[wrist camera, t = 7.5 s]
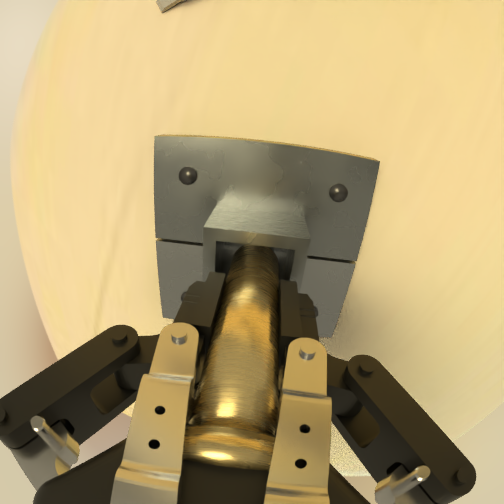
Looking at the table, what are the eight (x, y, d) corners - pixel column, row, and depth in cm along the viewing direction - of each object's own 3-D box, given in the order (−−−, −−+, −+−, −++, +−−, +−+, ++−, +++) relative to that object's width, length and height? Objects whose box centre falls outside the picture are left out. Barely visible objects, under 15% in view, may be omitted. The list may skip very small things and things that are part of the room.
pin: (290, 239, 14) (307, 463, 4) (281, 292, 16) (279, 495, 6) (226, 231, 14) (150, 443, 5) (223, 285, 16) (171, 481, 6)
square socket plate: (373, 158, 14) (402, 173, 11) (329, 328, 20) (337, 369, 16) (161, 134, 15) (129, 142, 11) (167, 308, 20) (148, 346, 17)
